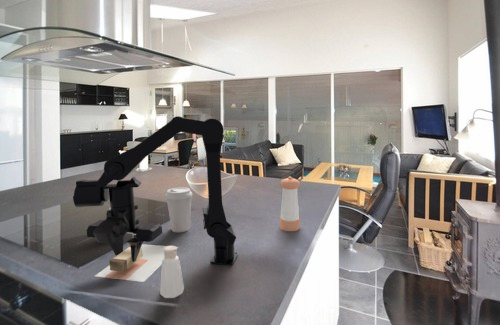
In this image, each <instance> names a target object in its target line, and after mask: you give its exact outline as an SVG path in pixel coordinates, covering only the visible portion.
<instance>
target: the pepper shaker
mask: <svg viewBox="0 0 500 325" xmlns="http://www.w3.org/2000/svg"><path fill="white" fill-rule="evenodd" d="M166 246H167V247H165V248H164V258H163V260H162V265H161V270H160V271H161V274H160V291H159V293H160V294H159V295H161V296H162V297H163V298H164V299H175V298H176V297H178V296H181V295H182V294H183V293H184V289H185V285H184V278H183V274H182V273H183V272H182V268H181V262H180V257H179V256H178V255H177V250H176V247H177V246H175V245H166Z"/></svg>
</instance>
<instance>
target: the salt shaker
mask: <svg viewBox="0 0 500 325" xmlns="http://www.w3.org/2000/svg"><path fill="white" fill-rule="evenodd" d="M300 186H301V183H300V181H299V180H298V179H296V178H294V177H293V176H288V177H287V178H283V179H282V180H281V181H280V187H281V189H282V193H281V194H282V198H281V199H282V200H281V203H280V204H281V205H280V217H279V228H280V229H281V230H282V231H284V232H285V231H286V232H295V231H298V230H299V229H301V228H300V226H301V225H300V217H299V215H300V208H299V201H298V193H299V192H298V189H299V188H300Z"/></svg>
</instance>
